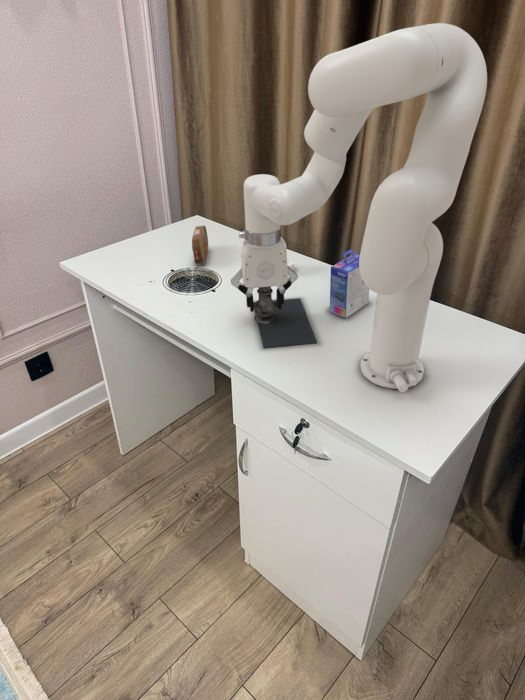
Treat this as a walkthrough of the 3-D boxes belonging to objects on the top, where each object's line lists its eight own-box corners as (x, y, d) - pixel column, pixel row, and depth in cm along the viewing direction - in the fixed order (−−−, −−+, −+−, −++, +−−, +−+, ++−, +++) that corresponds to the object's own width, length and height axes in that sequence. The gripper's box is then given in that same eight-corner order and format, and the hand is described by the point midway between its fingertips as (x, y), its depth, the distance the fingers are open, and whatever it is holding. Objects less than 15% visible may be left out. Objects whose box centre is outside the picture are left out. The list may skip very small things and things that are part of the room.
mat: (316, 343, 113) (317, 342, 113) (263, 348, 112) (263, 347, 112) (300, 299, 130) (300, 298, 129) (253, 303, 128) (253, 302, 128)
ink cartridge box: (350, 296, 130) (355, 243, 122) (369, 303, 127) (375, 249, 119) (327, 311, 124) (330, 256, 116) (345, 319, 121) (350, 263, 113)
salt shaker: (275, 325, 119) (274, 279, 112) (251, 323, 120) (248, 277, 113) (279, 312, 124) (279, 267, 117) (256, 311, 125) (254, 266, 118)
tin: (204, 269, 145) (201, 241, 140) (193, 269, 145) (190, 241, 140) (209, 247, 157) (207, 221, 152) (199, 247, 157) (196, 221, 152)
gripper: (224, 245, 106) (230, 319, 116) (306, 238, 107) (304, 312, 118) (222, 231, 112) (227, 303, 122) (299, 225, 114) (298, 296, 124)
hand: (265, 307), depth 120 cm, fingers closed on salt shaker, 5 cm apart
